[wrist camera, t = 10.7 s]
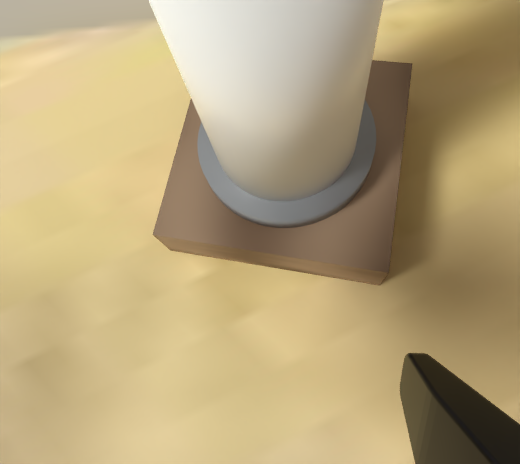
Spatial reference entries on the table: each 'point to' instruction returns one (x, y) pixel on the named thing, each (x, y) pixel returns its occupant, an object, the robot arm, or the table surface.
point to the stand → (306, 237)
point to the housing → (278, 100)
